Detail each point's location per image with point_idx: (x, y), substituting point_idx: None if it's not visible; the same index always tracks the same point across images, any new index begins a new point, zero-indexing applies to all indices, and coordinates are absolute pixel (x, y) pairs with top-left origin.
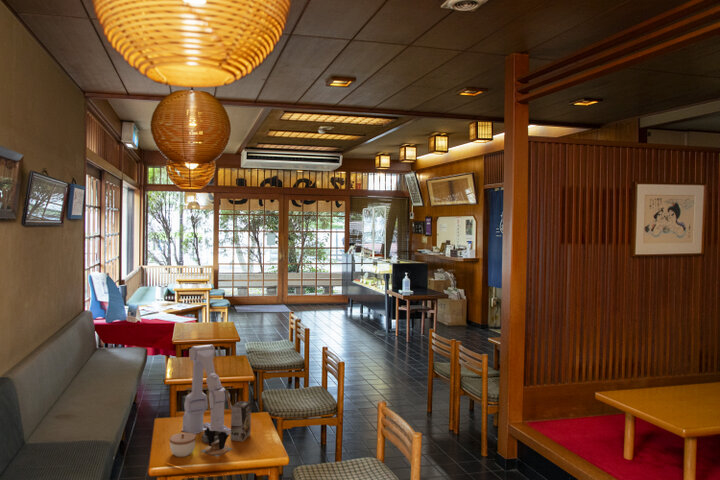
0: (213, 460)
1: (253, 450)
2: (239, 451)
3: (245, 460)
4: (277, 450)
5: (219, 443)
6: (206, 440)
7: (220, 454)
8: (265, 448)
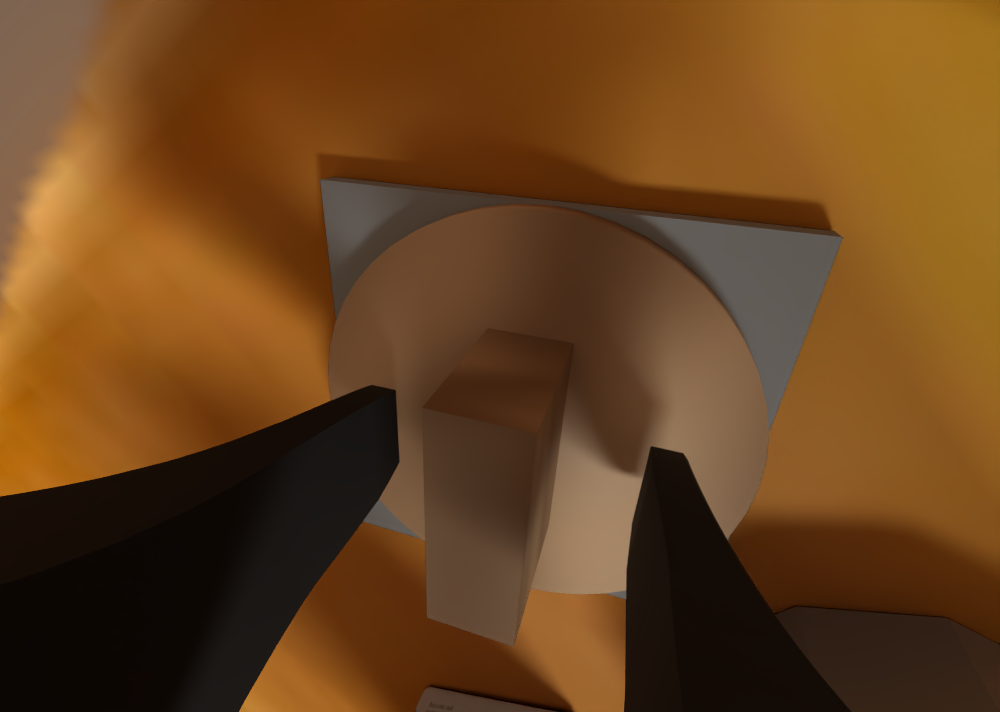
0: (300, 35)
1: None
2: None
3: (32, 290)
4: None
5: (300, 441)
6: (943, 681)
7: (344, 289)
8: None
